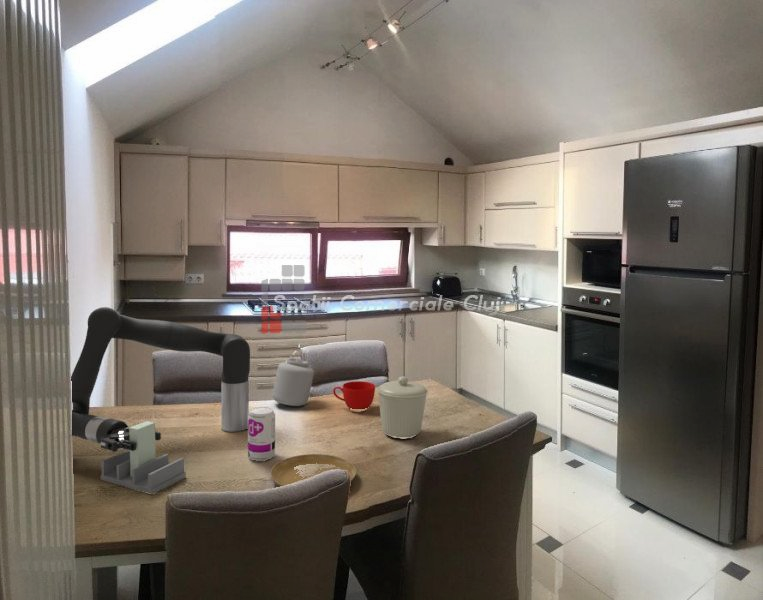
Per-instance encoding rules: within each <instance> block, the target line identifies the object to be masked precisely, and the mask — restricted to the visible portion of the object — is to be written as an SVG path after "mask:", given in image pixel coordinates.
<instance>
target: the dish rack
mask: <svg viewBox="0 0 763 600" xmlns="http://www.w3.org/2000/svg"><path fill="white" fill-rule="evenodd" d="M169 456H170V454H169V453H165V454H163V455H161V456H159V457H156V459H154V460H152V461H150V462H148V463H145V464H143V465H141V466H139V467H137V468H135V469H132V477H131V474H130V450H127V449H126V450H125V451H123V452H119V453H117V454H115V455H113V456H110V457H107V458H106V459H104V460H101V474H100V481H103V480H105V481H104V482H107V481H108V483H110V482H111V483H110V484H113V483H114V484H115V485H117V484H118V485H117V486H120V485H121V487H123V486H125V487H124V488H127V487H129V488H128V489H130V488H132V489H131V490H133V489H136V490H135V491H137V490H140V491H144V492H148V493H151V494H153V493H155V492H157V491H159V490H161V489H162V490H164V489H166V488H168V487H170V486H172V485H174V484H175V482H176V483H177V482H179V481H181V480H183V479H185V478H186V471H185V458H184V457H180V458H178V459H177V460H174V461H173V462H170V461H169V460H170V457H169ZM173 483H174V484H173ZM171 484H172V485H171ZM169 485H170V486H169ZM167 486H168V487H167ZM165 487H166V488H165ZM163 488H164V489H163ZM162 490H161V491H162ZM140 491H139V492H140ZM159 492H160V491H159ZM157 493H158V492H157ZM155 494H156V493H155ZM153 495H154V494H153Z"/></svg>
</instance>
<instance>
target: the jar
mask: <svg viewBox="0 0 763 600" xmlns="http://www.w3.org/2000/svg"><path fill="white" fill-rule="evenodd" d="M298 348H301V347H300V343H299V344H298ZM301 352H303V351H302V350H301ZM308 352H309V351H308V350H307V353H308ZM295 353H297V351H296V350H295V351H294V353H293V354H292V355H293V356H294V355H295ZM284 360H286V361H283V362H281V363H279V364H278V366H277V368H276V369H277V370H276V374H275V379H274V385H273V389H272V394H271V395H272V396H271V398H272V399H273V400H274V401H275V402H277V403H279V404H282V405H285V406H291V407H303V406H305V405H307V404H308V401H309V399H310V396H311V395H310V394H311V388H312V385H313V379H314V375H315V372H314V371H315V370H314V369H313V368H312V367H311V366H309V364H310V362H308V361H306V360H303V359H299V358H298V359H296V358H291V357H288V358H286V359H285V358H284ZM314 392H316V391H315V390H314ZM312 394H313V392H312ZM311 397H312V396H311ZM302 405H303V406H302Z"/></svg>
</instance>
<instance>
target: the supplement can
mask: <svg viewBox="0 0 763 600" xmlns="http://www.w3.org/2000/svg"><path fill="white" fill-rule="evenodd" d="M275 455H276V413H275V412H274V409H273V408H271V407H267V406H260V407H259V406H258V407H253V408H252V409H249V415H248V430H247V457H248V458H249V459H250V460H251V459H252V460H251V461H253V460H256V461H255V462H257V461H263V462H265V461H264V460H268V459H270V460H271V458H272V457H273V458H274V457H275ZM273 458H272V459H273ZM268 461H269V460H268Z"/></svg>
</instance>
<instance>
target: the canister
mask: <svg viewBox="0 0 763 600" xmlns="http://www.w3.org/2000/svg"><path fill="white" fill-rule="evenodd" d="M376 391H377V392H378V400H379V411H380V412H379V413H380V414H379V415H380V423H381V429H382V431H384V432H385V433H386V434H388V435H391V436H396V437H411V436H414V435H417V434H418V433H419V432H421V430H422V424H423V421H424V420H423V419H424V414H425V407H426V402H427V401H426V399H427V395H428V394H429V389H428V387H426V386H424V385H423V384H421V383H418V382H416V381H415V382H414V381H411V380H410V381H409V378H408V377H407V376H403V375H402V376H399V377H398V379H397V380H390V381H387V382H384V383H382V384H380V385H379V386H377V388H376ZM384 432H383V433H384ZM385 433H384V434H385ZM386 434H385V435H386ZM419 434H420V433H419ZM419 434H418V435H419ZM418 435H417V436H418Z"/></svg>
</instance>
